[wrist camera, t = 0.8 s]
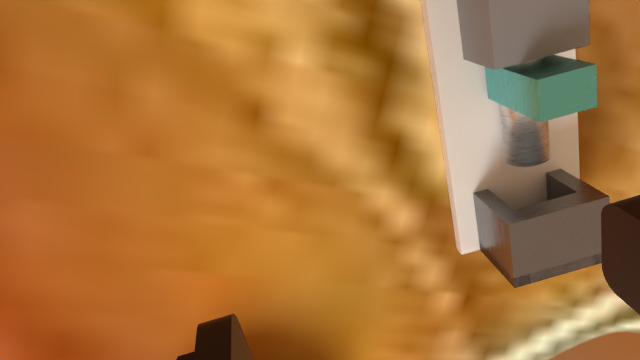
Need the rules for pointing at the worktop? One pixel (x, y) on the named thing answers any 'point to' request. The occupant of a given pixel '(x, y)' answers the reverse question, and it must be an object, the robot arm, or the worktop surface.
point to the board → (484, 114)
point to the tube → (538, 102)
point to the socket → (542, 230)
